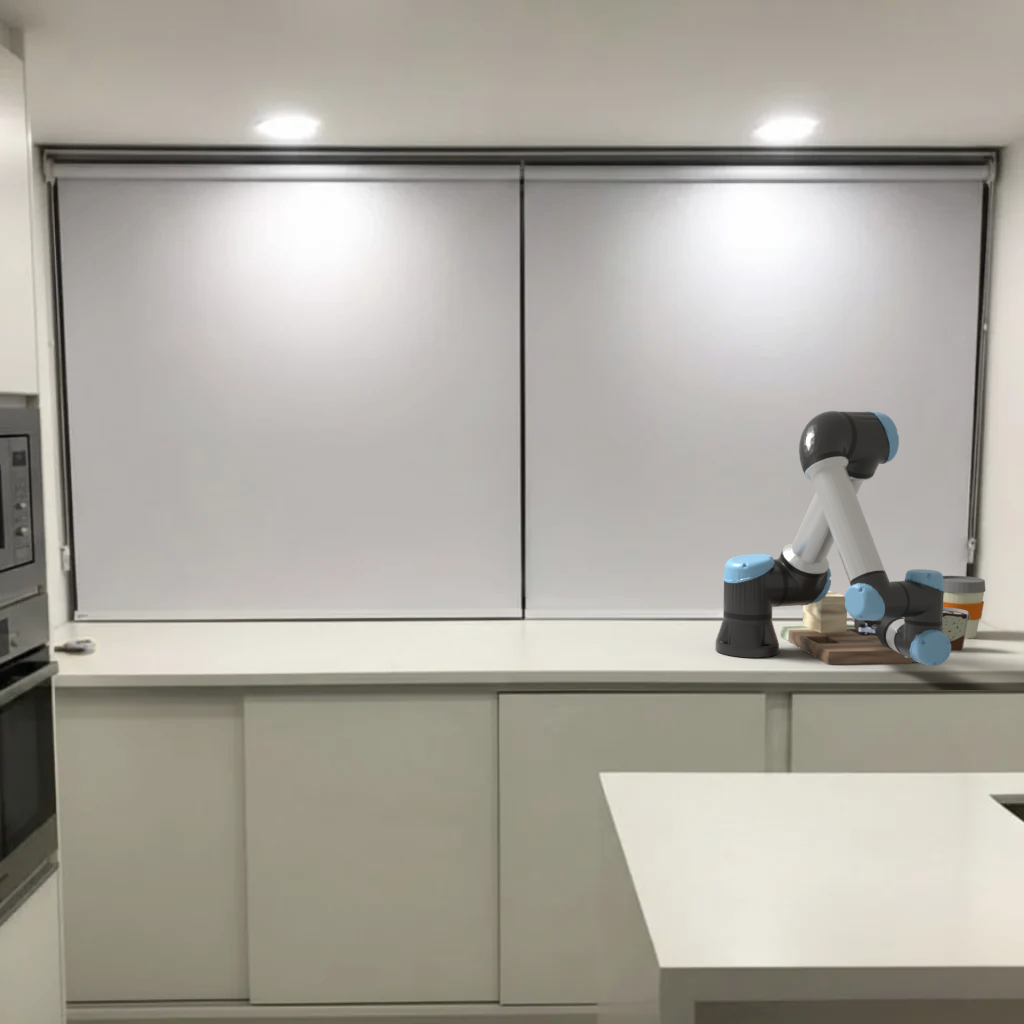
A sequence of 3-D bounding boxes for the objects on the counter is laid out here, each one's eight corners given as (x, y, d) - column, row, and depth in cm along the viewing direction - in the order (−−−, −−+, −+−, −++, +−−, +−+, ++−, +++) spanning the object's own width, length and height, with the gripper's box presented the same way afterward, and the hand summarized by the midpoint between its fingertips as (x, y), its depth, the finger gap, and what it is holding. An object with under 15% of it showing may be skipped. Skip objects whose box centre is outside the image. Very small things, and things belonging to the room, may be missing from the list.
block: (846, 631, 266) (847, 596, 265) (820, 632, 264) (821, 597, 264) (827, 624, 276) (828, 590, 275) (802, 625, 274) (803, 591, 274)
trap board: (919, 662, 245) (920, 650, 245) (828, 664, 243) (828, 651, 243) (861, 635, 277) (861, 624, 276) (780, 636, 275) (780, 625, 274)
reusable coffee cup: (923, 634, 278) (925, 578, 276) (946, 628, 286) (948, 574, 284) (969, 642, 268) (972, 584, 267) (992, 635, 276) (994, 579, 275)
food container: (960, 646, 263) (962, 607, 262) (969, 651, 257) (970, 611, 256) (910, 645, 264) (911, 606, 263) (917, 650, 258) (918, 610, 257)
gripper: (872, 652, 230) (829, 631, 254) (928, 651, 232) (881, 630, 255) (873, 618, 230) (830, 601, 253) (930, 617, 231) (882, 600, 254)
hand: (855, 616), depth 254 cm, fingers closed
